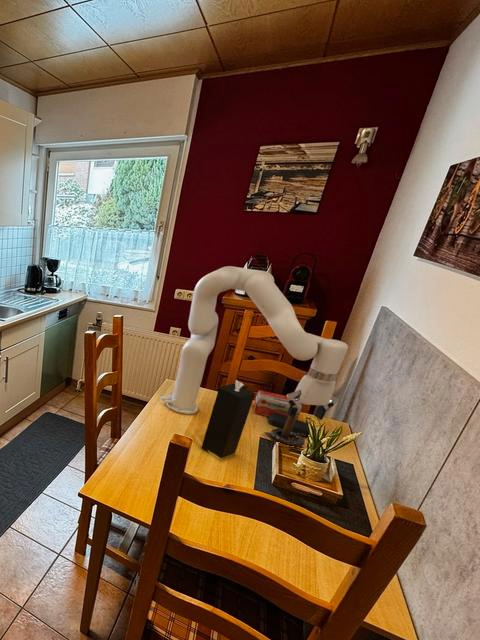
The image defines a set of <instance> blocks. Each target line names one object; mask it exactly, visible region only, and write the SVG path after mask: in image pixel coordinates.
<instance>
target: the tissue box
mask: <svg viewBox="0 0 480 640" xmlns="http://www.w3.org/2000/svg"><path fill="white" fill-rule="evenodd" d="M244 386H245V384H244V383H243V382H241V381H239V380H238V379H235V383H230V384H227V385H223V386H219V387H218V389H217V394H216V397H215V400H214V403H213V406H212V409H211V414H210V417H209V420H208V424H207V426H206V430H205V433H204V437H203V440H202V443H201V449H202V450H203V451H205V452H207V453H208V454H209V453H212V454H214V455H215V456H217V457H218V458H220V459H224V458H227V457H228V456H231V455H234V454H236V453H237V449H238V445H239V444H240V443H239V442H240V440H241V437H242V434H243V431H244V428H245V425H246V422H247V419H248V417H249V414H250V411H251V408H252V404H253V402H254V400H255V398H256V397H255V396H256V392H254V391H251V390H249V389H246V388H245V387H244Z"/></svg>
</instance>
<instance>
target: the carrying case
mask: <svg viewBox="0 0 480 640" xmlns="http://www.w3.org/2000/svg"><path fill="white" fill-rule="evenodd" d="M287 418H288V417H286V416H283V415H280V414H276V413H273V414H270V415H269V417H268V419H267V424H268V425H270V426H272V427H275V428H279V429H284V426H285V424H286V421H287ZM308 423H309V422H306V421H302V420H300V419H297V420H296V421H295V423H294V426H293V428H292V431H293V432H295V433H297V434H299V435H300V436H301V437H304V438H309V437H308V435H309V427H308Z"/></svg>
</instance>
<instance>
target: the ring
mask: <svg viewBox="0 0 480 640" xmlns="http://www.w3.org/2000/svg"><path fill="white" fill-rule="evenodd" d="M282 431H283V429H281V428H278V427H275V428H274V429H271V431H270V433H271V436H272V437H273V438H274V439H275V440H276V441H278V442H280V443H282V444H285V445H289V446H294V447H300V446H303V447H304V445H306V442H305V438H303V436H300V435H299V434H297V433H295V432H293V431H291V433H290V436H291V437H293V438H294V439H295V440H296V441H290V440H286V439H284V438H282V437H280V436H279V435H278V434H282Z"/></svg>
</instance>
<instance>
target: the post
mask: <svg viewBox="0 0 480 640" xmlns="http://www.w3.org/2000/svg"><path fill="white" fill-rule="evenodd" d="M296 418H297V417H296V416H295V418H292V417H290V416H288V418H287V421H286V424H285V426H284V429H283V431H282V434H278V435H279V436H280V437H282V438H284V439H286V440H290V441H297V440H296V439H295V438H293V437H291V436H290V433H291V431H292V428H293V426H294V423H295V421H296ZM263 434H264V435H265V436H266V437H267V438H268V439H269V440H270V441H271V442H272V443H273V444H275V443H276V442H278V441H276V440H275V439H274V438H273V437H272V436H271V431H268V432H267V431H265V432H264V433H263ZM299 448H303V449H304V448H305V447H304V445H303V446H300V447H299ZM299 448H298V449H299Z"/></svg>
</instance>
